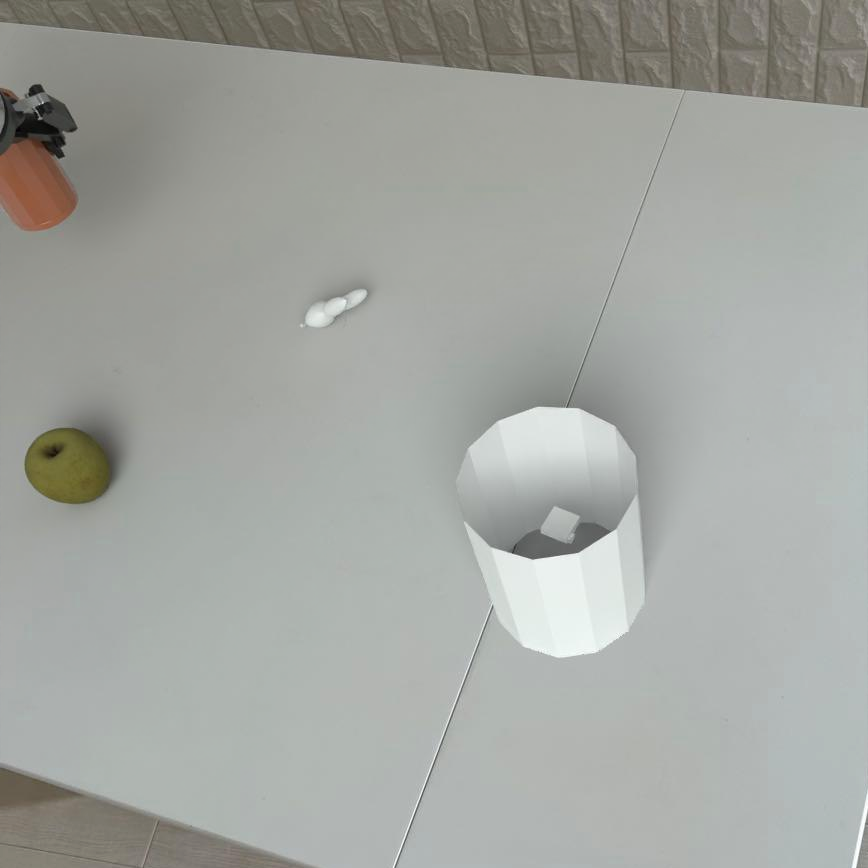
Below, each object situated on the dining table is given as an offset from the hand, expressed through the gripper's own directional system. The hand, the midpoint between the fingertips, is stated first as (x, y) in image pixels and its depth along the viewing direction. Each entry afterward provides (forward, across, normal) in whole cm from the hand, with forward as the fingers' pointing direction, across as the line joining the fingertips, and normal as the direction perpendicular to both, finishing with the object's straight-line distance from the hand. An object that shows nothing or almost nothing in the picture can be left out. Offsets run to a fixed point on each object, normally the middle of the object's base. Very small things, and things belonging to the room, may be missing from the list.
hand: (18, 161), depth 111 cm
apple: (-8, -10, -34) cm, 36 cm away
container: (-35, +28, -60) cm, 75 cm away
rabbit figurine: (-4, +22, -30) cm, 37 cm away
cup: (0, 0, -5) cm, 5 cm away
